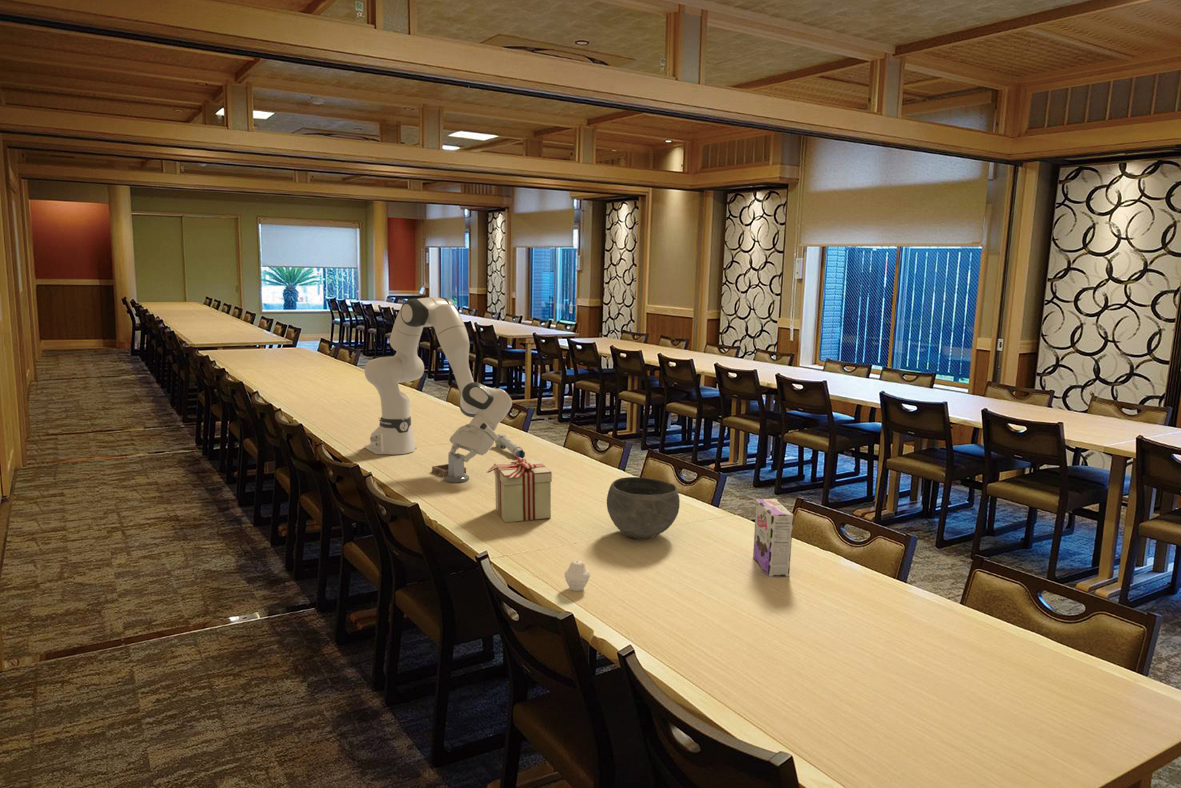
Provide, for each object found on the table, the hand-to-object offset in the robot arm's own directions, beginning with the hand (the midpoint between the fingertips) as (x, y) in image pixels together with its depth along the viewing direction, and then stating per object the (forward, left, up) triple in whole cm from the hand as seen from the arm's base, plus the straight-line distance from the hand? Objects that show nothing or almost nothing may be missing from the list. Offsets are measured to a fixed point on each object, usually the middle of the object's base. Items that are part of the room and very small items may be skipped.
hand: (457, 458), depth 285 cm
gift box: (+46, -11, -8) cm, 48 cm away
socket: (-10, +3, -8) cm, 13 cm away
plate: (0, -1, -8) cm, 8 cm away
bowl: (+84, +3, -8) cm, 84 cm away
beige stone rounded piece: (+99, -38, -8) cm, 106 cm away
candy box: (+123, +9, -8) cm, 124 cm away
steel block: (0, 0, -7) cm, 7 cm away
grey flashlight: (-21, +41, -8) cm, 47 cm away
